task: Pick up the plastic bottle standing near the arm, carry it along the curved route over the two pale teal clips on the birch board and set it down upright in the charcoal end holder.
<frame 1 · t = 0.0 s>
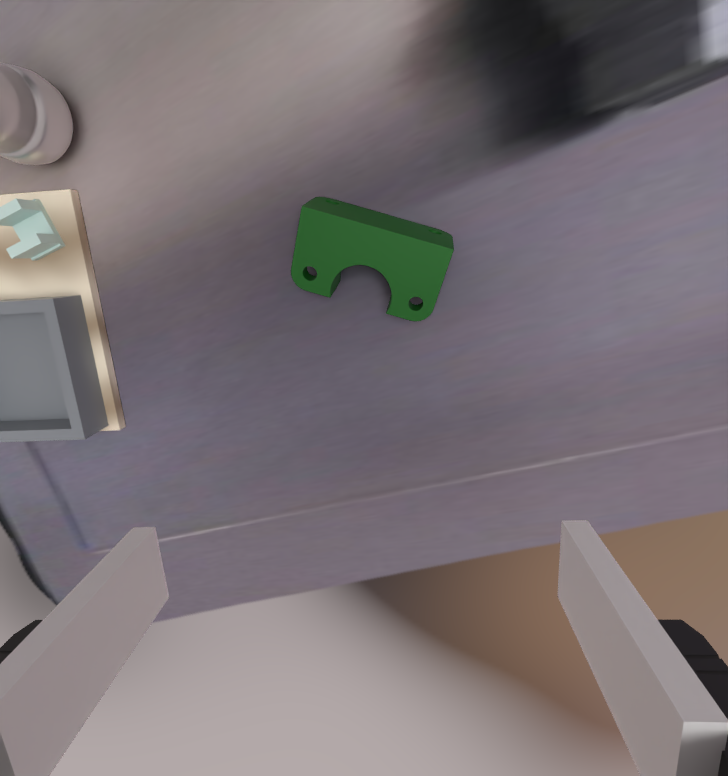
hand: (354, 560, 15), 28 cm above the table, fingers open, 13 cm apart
plastic bottle: (48, 126, 39), on the table
clip1: (38, 230, 40), resting on board
clamp: (373, 258, 40), on the table
board: (30, 320, 44), on the table
holder: (32, 365, 44), resting on board
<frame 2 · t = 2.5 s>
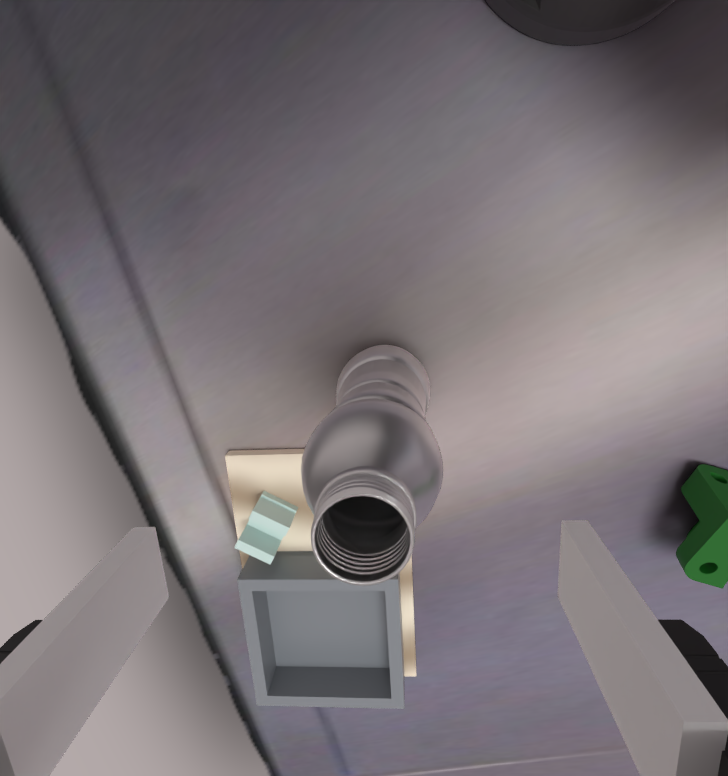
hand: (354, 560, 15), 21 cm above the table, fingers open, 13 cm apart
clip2: (271, 518, 38), resting on board
plastic bottle: (384, 382, 36), on the table
board: (327, 564, 40), on the table
holder: (329, 613, 40), resting on board
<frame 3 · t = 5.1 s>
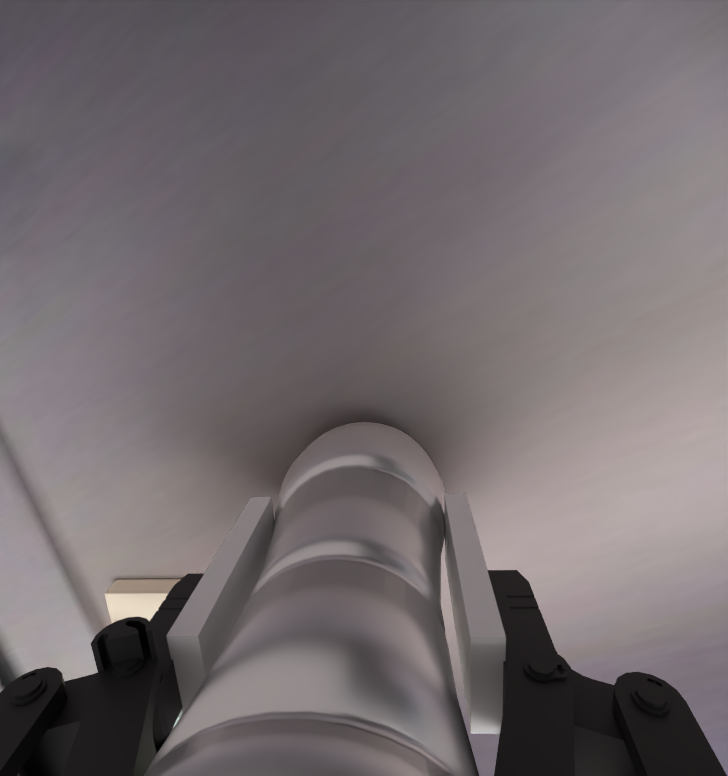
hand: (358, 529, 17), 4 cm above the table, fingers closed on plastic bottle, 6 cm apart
plastic bottle: (366, 478, 21), on the table, touching gripper
board: (280, 747, 26), on the table
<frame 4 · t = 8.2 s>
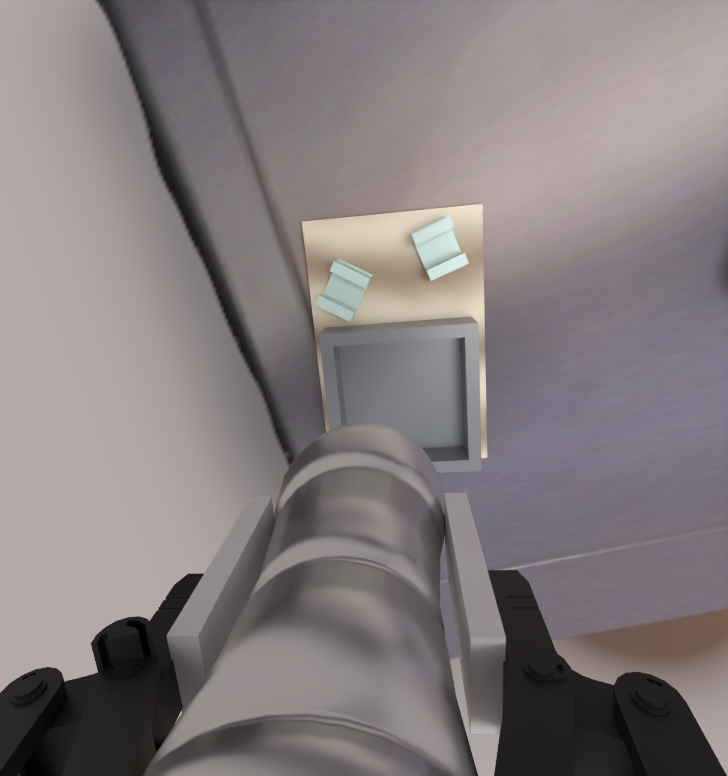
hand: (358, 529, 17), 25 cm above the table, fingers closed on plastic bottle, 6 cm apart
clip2: (346, 289, 39), resting on board
plastic bottle: (365, 478, 21), point 21 cm above the table, touching gripper
clip1: (437, 249, 38), resting on board
board: (399, 343, 41), on the table
holder: (402, 392, 41), resting on board
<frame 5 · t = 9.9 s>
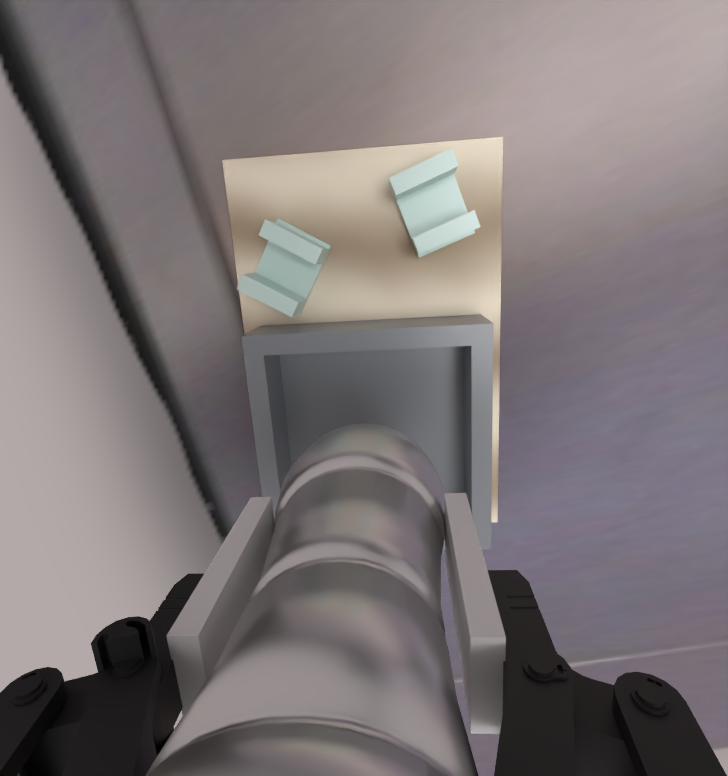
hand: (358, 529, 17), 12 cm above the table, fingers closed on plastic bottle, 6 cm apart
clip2: (291, 267, 26), resting on board
plastic bottle: (366, 479, 21), point 8 cm above the table, touching gripper
clip1: (431, 207, 24), resting on board
board: (372, 352, 28), on the table
holder: (375, 424, 28), resting on board
when the fingers open (7 cm above the table, at t = 11.4 s): plastic bottle drops 1 cm, resting on holder.
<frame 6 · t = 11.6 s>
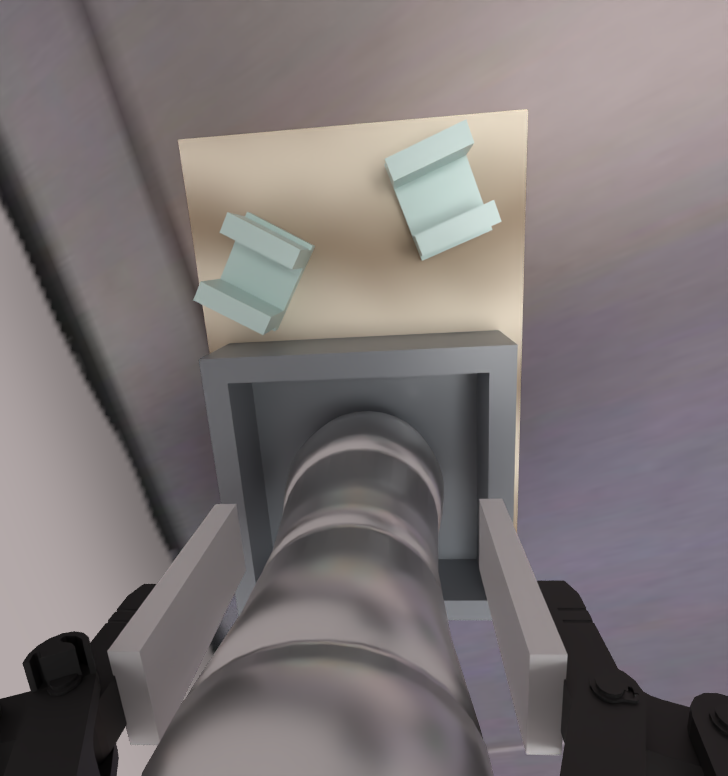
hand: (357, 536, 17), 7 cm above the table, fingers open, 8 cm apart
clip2: (264, 272, 21), resting on board
plastic bottle: (368, 464, 22), point 1 cm above the table, touching holder
clip1: (437, 198, 20), resting on board
board: (365, 374, 23), on the table
holder: (368, 461, 23), resting on board
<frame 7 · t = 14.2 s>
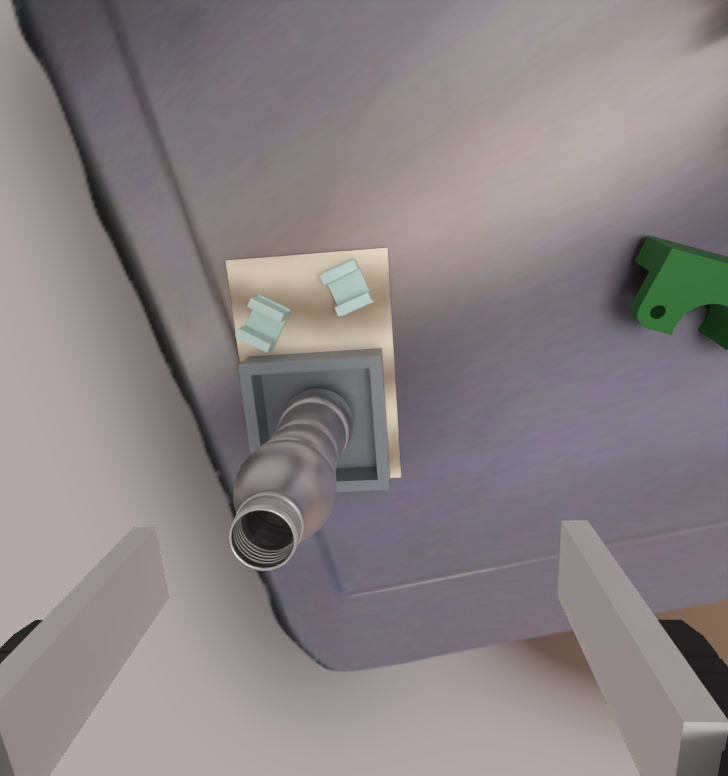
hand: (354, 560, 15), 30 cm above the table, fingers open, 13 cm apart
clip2: (267, 321, 43), resting on board
plastic bottle: (320, 417, 44), point 1 cm above the table, touching holder
clip1: (348, 287, 41), resting on board
clamp: (683, 293, 41), on the table
board: (319, 371, 44), on the table
holder: (321, 416, 44), resting on board
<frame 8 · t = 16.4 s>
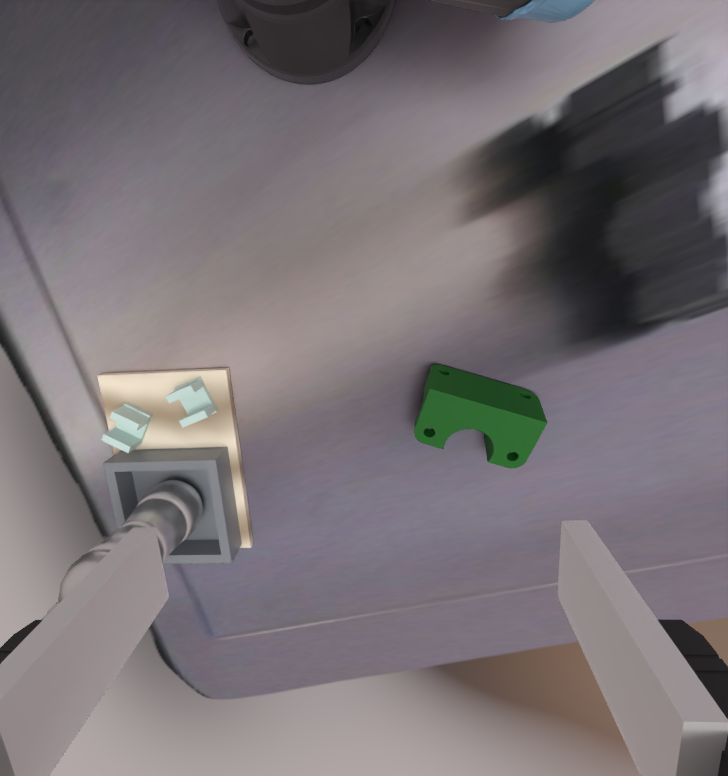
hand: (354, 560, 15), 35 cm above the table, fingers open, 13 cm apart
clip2: (134, 423, 52), resting on board
plastic bottle: (181, 499, 54), point 1 cm above the table, touching holder
clip1: (197, 398, 51), resting on board
clamp: (471, 407, 50), on the table
board: (181, 461, 54), on the table
holder: (183, 497, 54), resting on board
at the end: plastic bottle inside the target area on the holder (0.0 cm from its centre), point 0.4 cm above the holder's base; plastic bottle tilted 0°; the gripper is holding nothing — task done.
